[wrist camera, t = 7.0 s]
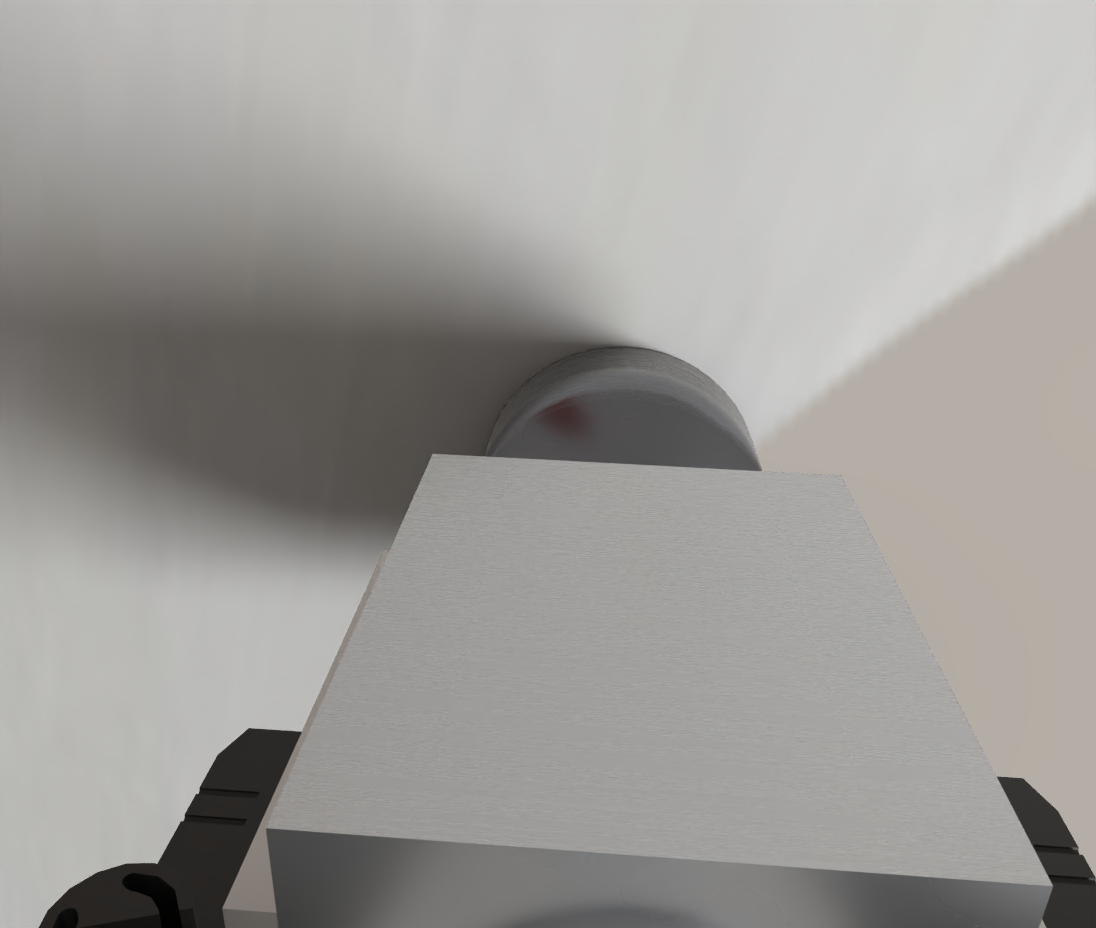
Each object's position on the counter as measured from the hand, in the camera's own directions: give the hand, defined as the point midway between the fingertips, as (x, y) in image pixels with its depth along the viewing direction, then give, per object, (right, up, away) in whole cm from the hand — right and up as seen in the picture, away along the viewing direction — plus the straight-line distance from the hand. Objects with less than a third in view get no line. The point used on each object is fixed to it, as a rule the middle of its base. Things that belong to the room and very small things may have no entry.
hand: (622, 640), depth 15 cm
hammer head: (0, 0, 0) cm, 0 cm away
